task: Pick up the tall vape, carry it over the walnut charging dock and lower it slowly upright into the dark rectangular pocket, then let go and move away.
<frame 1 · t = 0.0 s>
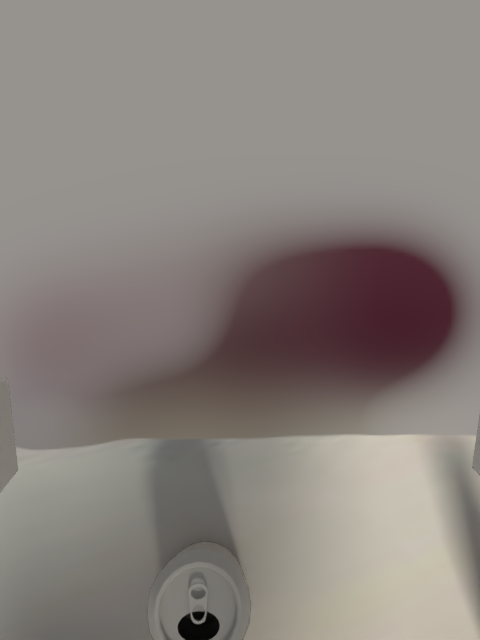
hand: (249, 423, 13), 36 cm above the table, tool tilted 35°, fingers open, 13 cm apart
can: (204, 585, 42), on the table
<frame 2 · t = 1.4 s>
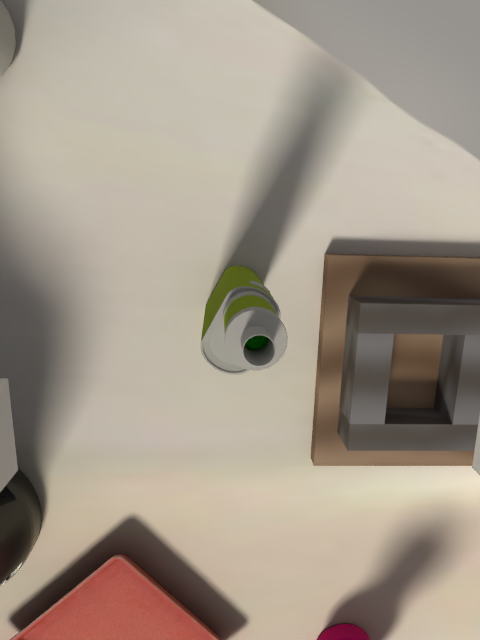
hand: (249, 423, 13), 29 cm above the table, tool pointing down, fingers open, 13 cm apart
vape: (233, 295, 41), on the table
charging dock: (400, 361, 43), on the table
plant saucer: (123, 630, 49), on the table
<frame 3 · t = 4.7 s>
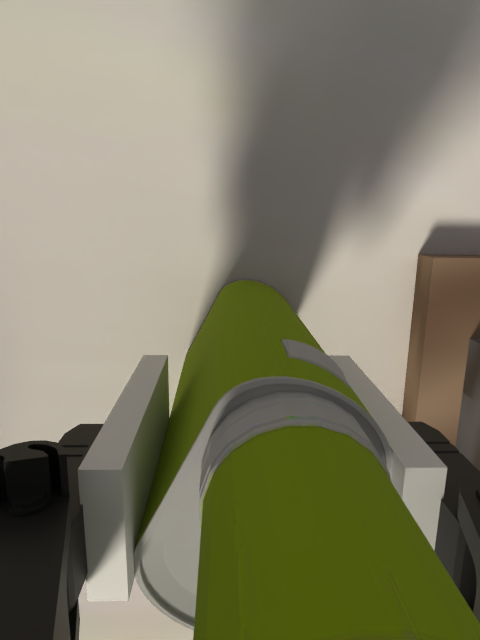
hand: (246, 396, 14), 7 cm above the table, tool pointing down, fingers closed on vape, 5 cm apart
vape: (239, 338, 21), on the table, touching gripper
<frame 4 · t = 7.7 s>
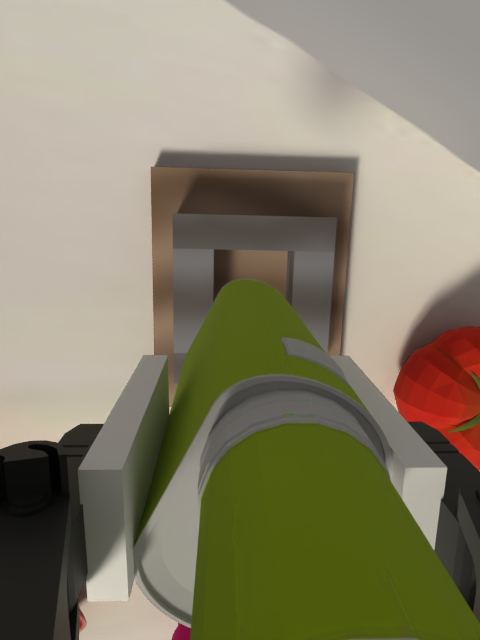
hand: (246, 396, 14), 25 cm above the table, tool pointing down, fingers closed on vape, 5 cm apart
vape: (239, 337, 21), point 18 cm above the table, touching gripper
charging dock: (248, 292, 39), on the table
tomato: (449, 380, 42), on the table
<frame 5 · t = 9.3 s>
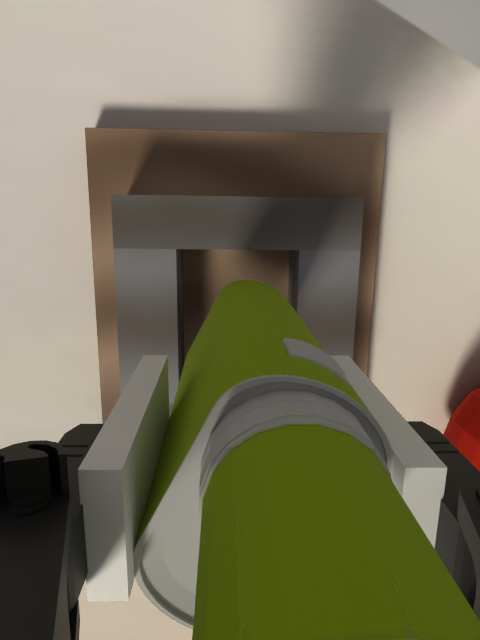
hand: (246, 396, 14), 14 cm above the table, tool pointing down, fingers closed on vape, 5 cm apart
vape: (240, 337, 21), point 7 cm above the table, touching gripper
charging dock: (234, 309, 28), on the table
when the fingers open (9 cm above the table, at t = 10.8 s): vape stays where it is, resting on charging dock.
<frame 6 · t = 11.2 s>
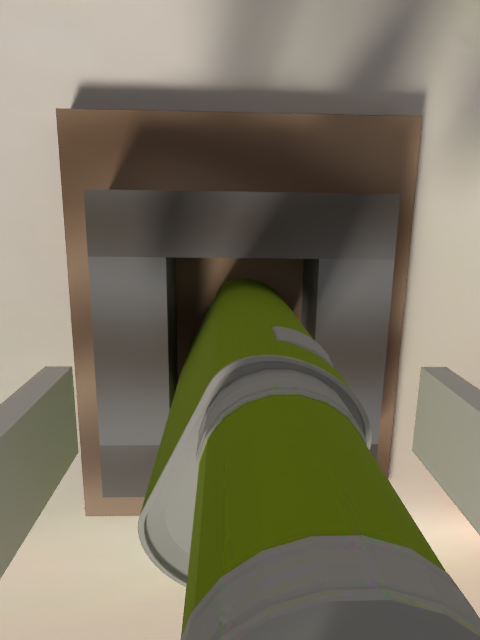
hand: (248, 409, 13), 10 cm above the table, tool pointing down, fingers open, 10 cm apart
vape: (237, 334, 22), point 1 cm above the table, touching charging dock
charging dock: (238, 326, 23), on the table
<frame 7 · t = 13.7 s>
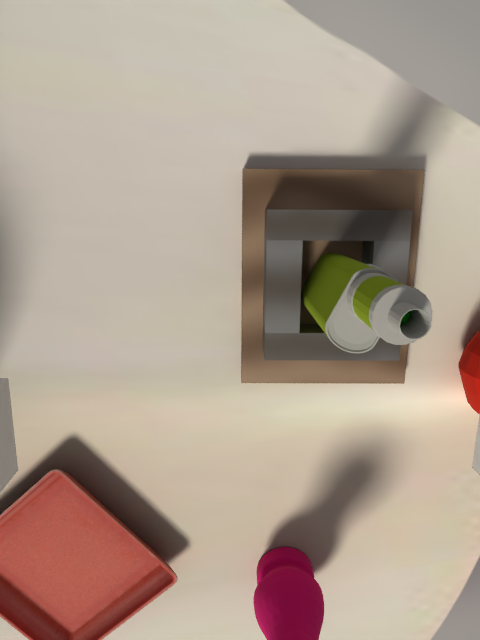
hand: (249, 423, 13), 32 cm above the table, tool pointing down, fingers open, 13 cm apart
vape: (327, 282, 42), point 1 cm above the table, touching charging dock
pepper mill: (284, 568, 51), on the table
charging dock: (325, 279, 44), on the table
plant saucer: (71, 550, 51), on the table
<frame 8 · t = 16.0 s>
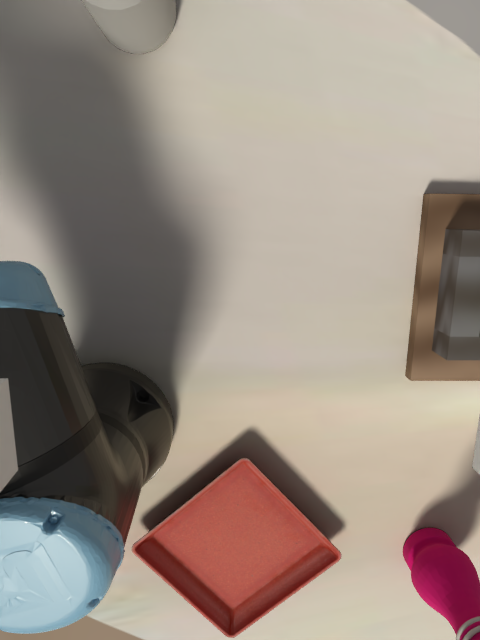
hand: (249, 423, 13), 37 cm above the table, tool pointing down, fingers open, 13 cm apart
pepper mill: (426, 547, 57), on the table
can: (138, 14, 43), on the table
plant saucer: (236, 533, 56), on the table
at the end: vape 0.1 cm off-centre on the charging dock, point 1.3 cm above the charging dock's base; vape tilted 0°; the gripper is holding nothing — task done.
